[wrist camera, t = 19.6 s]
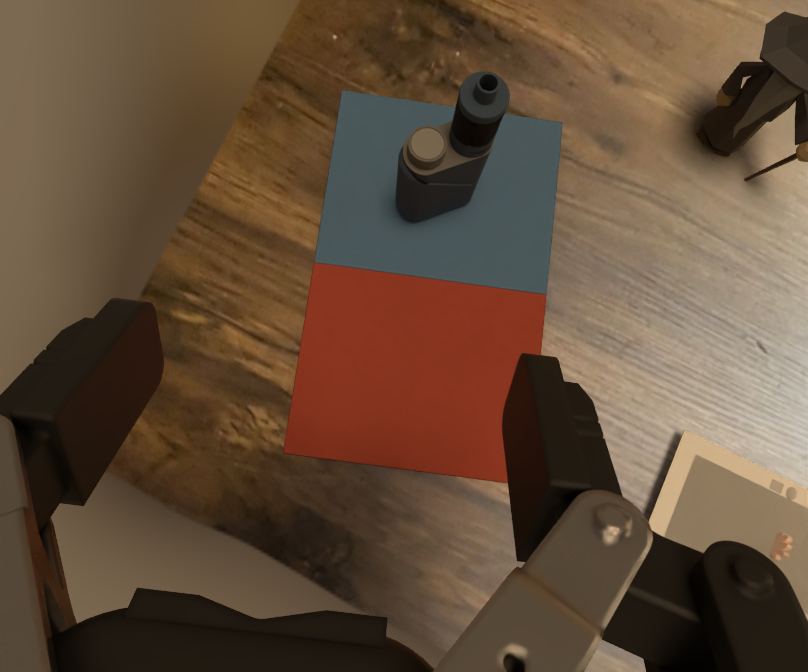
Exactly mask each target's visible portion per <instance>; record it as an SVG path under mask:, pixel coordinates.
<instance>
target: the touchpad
mask: <svg viewBox="0 0 808 672" xmlns="http://www.w3.org/2000/svg"><path fill="white" fill-rule="evenodd" d="M649 524H650V527H651V530H652V531H654V532H656V533H657V534H659V535H661V536H663V537H665V538H668V539H670V540H673V541H675V542H678V543H680V544H682V545H685V546H687V547H690V548H692V549H695V550H697V551H700V552H702V553H704V552H705V550H706V549H707V548H708V547H709V546H710V545H711V544H713V543H714V542H718V541H725V540H728V541H735V542H739V543H742V544H745V545H748V546H750V547H752V548H754V549H756V550H757V551H759V552H761V553H762V554H764V555H765V556H766V557H768V558H769V559H770V560H771V561H772V562H774V563H775V564H776V565H777V566H778V567H779V569H780V570H781V571H782V572H783V573H784V575H785V576H786V577H787V579H788V580H789V582H790V584H791V586H792V588H793V590H794V592H795V594H796V596H797V598H798V601H799V603H800V605H801V607H802V609H803V611H804V613H805V616H806V618H807V620H808V489H806V488H804V487H802V486H800V485H798V484H796V483H794V482H792V481H790V480H787V479H785V478H783V477H781V476H779V475H777V474H775V473H773V472H771V471H769V470H767V469H765V468H763V467H761V466H758V465H756V464H754V463H752V462H750V461H748V460H746V459H744V458H742V457H740V456H738V455H736V454H734V453H731V452H729V451H727V450H725V449H723V448H721V447H719V446H717V445H715V444H713V443H711V442H709V441H707V440H705V439H702V438H700V437H698V436H696V435H694V434H692V433H690V432H688V431H686V430H684V433H683V435H682V438H681V440H680V443H679V446H678V448H677V451H676V453H675V456H674V458H673V461H672V463H671V466H670V469H669V471H668V474H667V476H666V479H665V481H664V484H663V486H662V489H661V492H660V494H659V497H658V499H657V502H656V504H655V507H654V509H653V512H652V515H651V517H650V520H649Z"/></svg>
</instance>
